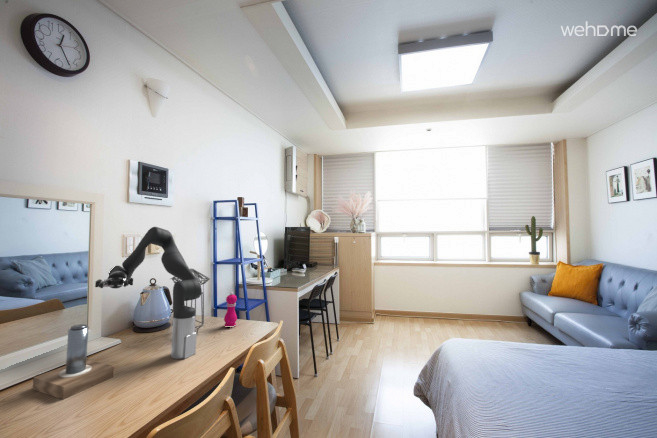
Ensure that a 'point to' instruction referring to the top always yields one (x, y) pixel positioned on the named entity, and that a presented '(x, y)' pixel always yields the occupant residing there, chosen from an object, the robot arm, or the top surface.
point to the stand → (72, 379)
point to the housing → (77, 349)
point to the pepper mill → (230, 310)
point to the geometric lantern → (201, 293)
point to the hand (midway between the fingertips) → (113, 285)
